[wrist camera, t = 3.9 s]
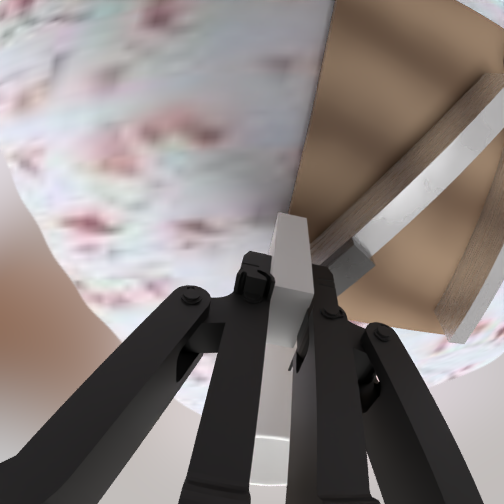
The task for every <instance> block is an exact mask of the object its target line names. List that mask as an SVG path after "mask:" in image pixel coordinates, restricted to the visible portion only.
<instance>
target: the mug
mask: <svg viewBox="0 0 504 504" xmlns="http://www.w3.org/2000/svg"><path fill="white" fill-rule="evenodd" d="M296 349H297V340H296V343H295V345H294V348H289V347H283V346H278V345H273V344H268V343H266V348H265V357H264V366H263V375H262V384H261V393H260V402H259V410H258V418H257V427H256V435H255V443H254V451H253V459H252V467H251V474H250V482H249V484H252V485H262V486H284V485H287V477H288V462H289V445H290V426H291V404H292V377H293V367H292V369H291V371H288V368H289V366H290V363H291V361H292V358H293V356H294V354H295V351H296Z"/></svg>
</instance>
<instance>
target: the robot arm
mask: <svg viewBox="0 0 504 504" xmlns="http://www.w3.org/2000/svg"><path fill="white" fill-rule="evenodd" d="M296 340H297V349H296V351H295V354H294V356H293V358H292V361H291V363H290V366H289V368H288V371H291V369H292V367H293V377H292V404H291V426H290V445H289V462H288V477H287V493H286V504H380V502H379V501H378V500H377V499H375V498H373V497H372V496H371V494H370V490H369V477H368V464H367V454H368V456H369V459H370V462H371V465H372V468H373V470H374V474H375V476H376V479H377V482H378V485H379V488H380V491H381V494H382V497H383V500H384V503H385V504H484V503H483V501H482V499H481V496H480V494H479V492H478V489H477V487H476V485H475V482H474V480H473V478H472V476H471V473H470V471H469V469H468V467H467V465H466V462H465V460H464V458H463V456H462V454H461V452H460V450H459V448H458V446H457V443H456V441H455V439H454V438H453V436H452V433H451V432H450V429H449V428H448V425H447V423H446V421H445V420H444V418H443V416H442V414H441V412H440V410H439V408H438V406H437V404H436V403H435V400H434V399H433V397H432V395H431V393H430V391H429V389H428V388H427V386H426V384H425V382H424V380H423V378H422V377H421V375H420V373H419V371H418V370H417V368H416V366H415V364H414V363H413V361H412V359H411V357H410V356H409V354H408V352H407V350H406V349H405V347H404V345H403V344H402V342H401V340H400V339H399V337H398V335H397V334H396V332H395V331H394V330H393V329H392V328H391V327H389V326H388V325H386V324H383V323H379V322H373V323H370V324H369V325H367V327H366V329H364V328H362V327H359V326H357V325H355V324H353V323H351V322H349V321H348V319H347V315H346V313H345V311H344V310H343V309H342V308H341V307H340V306H338V300H337V294H336V289H335V283H334V278H333V274H332V272H331V271H330V270H329V268H328V267H325V266H321V265H316V264H312V263H311V254H310V244H309V234H308V225H307V218H303V217H299V216H295V215H290V214H286V213H281V212H278V216H277V220H276V224H275V228H274V232H273V236H272V240H271V245H270V249H269V253H268V255H266V254H262V253H257V252H253V251H249V252H248V253H247V254H245V255H244V257H243V261H242V265H241V269H240V270H239V271H238V273H237V276H236V281H235V286H234V291H233V292H232V293H231V294H230V295H228V296H225V297H219V298H211V297H210V294H209V293H208V292H207V291H206V290H204V289H202V288H201V287H197V286H189V285H186V286H182V287H179V288H177V289H176V290H174V291H173V292H172V293H171V294H170V295H169V296H168V297H167V298H166V299H165V300H164V301H163V302H162V303H161V304H160V305H159V306H158V307H157V308H156V309H155V310H154V311H153V312H152V313H151V314H150V315H149V316H148V317H147V318H146V319H145V320H144V321H143V322H142V323H141V324H140V325H139V326H138V327H137V328H136V329H135V330H134V331H133V332H132V333H131V334H130V335H129V336H128V338H127V339H126V340H125V341H124V342H123V343H122V344H121V345H120V346H119V347H118V348H117V349H116V350H115V351H114V352H113V353H112V354H111V355H110V356H109V357H108V358H107V359H106V360H105V361H104V362H103V363H102V364H101V365H100V366H99V367H98V368H97V369H96V370H95V371H94V373H93V374H92V375H91V376H90V377H89V378H88V379H87V380H86V381H85V382H84V383H83V384H82V385H81V386H80V387H79V388H78V389H77V390H76V391H75V392H74V393H73V395H72V396H71V397H70V398H69V399H68V400H67V401H66V402H65V403H64V404H63V405H62V406H61V407H60V408H59V409H58V410H57V412H56V413H55V414H54V415H53V416H52V417H51V418H50V419H49V420H48V421H47V422H46V423H45V424H44V425H43V427H42V428H41V429H40V430H39V431H38V432H37V433H36V434H35V435H34V436H33V437H32V439H31V440H30V441H29V442H28V443H27V444H26V445H25V446H24V447H23V448H22V450H21V451H20V452H19V453H18V454H17V455H16V456H14V457H12V458H10V459H8V460H6V461H4V462H2V463H0V504H97V503H98V502H99V500H100V499H101V498H102V497H103V495H104V494H105V493H106V491H107V490H108V488H109V487H110V486H111V484H112V483H113V482H114V480H115V479H116V478H117V476H118V475H119V473H120V472H121V471H122V469H123V468H124V466H125V465H126V464H127V462H128V461H129V460H130V458H131V457H132V455H133V454H134V453H135V451H136V450H137V448H138V447H139V446H140V444H141V443H142V441H143V440H144V439H145V437H146V436H147V434H148V433H149V431H150V430H151V429H152V427H153V426H154V425H155V423H156V422H157V420H158V419H159V417H160V416H161V415H162V413H163V412H164V410H165V409H166V408H167V406H168V405H169V403H170V402H171V401H172V399H173V398H174V396H175V395H176V393H177V392H178V391H179V389H180V388H181V386H182V385H183V383H184V382H185V381H186V379H187V378H188V376H189V375H190V373H191V372H192V370H193V369H194V368H195V366H196V365H197V363H198V362H199V360H200V359H201V357H202V356H203V353H218V354H217V358H216V361H215V365H214V369H213V373H212V377H211V381H210V385H209V389H208V393H207V397H206V401H205V405H204V409H203V413H202V417H201V421H200V425H199V429H198V432H197V436H196V440H195V444H194V448H193V452H192V456H191V460H190V465H189V468H188V472H187V476H186V479H185V482H184V484H183V487H182V491H181V495H180V499H179V503H178V504H250V503H251V497H250V493H249V482H250V474H251V467H252V459H253V451H254V443H255V435H256V427H257V418H258V410H259V402H260V393H261V384H262V375H263V366H264V357H265V348H266V343H268V344H273V345H278V346H283V347H289V348H294V345H295V343H296ZM376 375H377V377H378V379H379V381H380V382H378V380H377V378H376ZM366 451H367V453H366Z"/></svg>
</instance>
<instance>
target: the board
mask: <svg viewBox="0 0 504 504" xmlns="http://www.w3.org/2000/svg"><path fill="white" fill-rule="evenodd" d="M503 59H504V29H503V28H502V27H500V26H499V25H497V24H496V23H494V22H492V21H491V20H489V19H488V18H486V17H484V16H483V15H481V14H479V13H478V12H476V11H474V10H472V9H471V8H469V7H467V6H465V5H463V4H462V3H460V2H458V1H456V0H335V3H334V8H333V13H332V18H331V23H330V28H329V33H328V38H327V43H326V48H325V52H324V57H323V62H322V67H321V71H320V76H319V81H318V85H317V90H316V94H315V99H314V104H313V108H312V113H311V117H310V121H309V126H308V130H307V135H306V139H305V143H304V148H303V152H302V156H301V161H300V165H299V169H298V174H297V178H296V182H295V186H294V190H293V195H292V199H291V203H290V207H289V211H288V214H290V215H295V216H299V217H303V218H307V225H308V234H309V244H311V243H312V242H313V241H314V240H315V239H317V238H318V237H319V236H320V235H321V234H322V233H323V232H324V231H325V230H326V229H327V228H328V227H330V226H331V225H332V224H333V223H334V222H335V221H336V220H337V219H338V218H339V217H340V216H341V215H342V214H343V213H344V212H346V211H347V210H348V209H349V208H350V207H351V206H352V205H353V204H354V203H355V202H356V201H357V200H358V199H359V198H360V197H361V196H362V195H364V194H365V193H366V192H367V191H368V190H369V189H370V188H371V187H372V186H373V185H374V184H375V183H376V182H377V181H378V180H379V179H380V178H381V177H382V176H383V175H384V174H385V173H386V172H387V171H388V170H390V169H391V168H392V167H393V166H394V165H395V164H396V163H397V162H398V161H399V160H400V159H401V158H402V157H403V156H404V155H405V154H406V153H407V152H408V151H409V150H410V149H411V148H412V147H413V146H414V145H415V144H416V143H417V142H418V141H419V140H420V139H421V138H422V137H423V136H424V135H425V134H426V133H427V132H428V131H429V130H430V129H431V128H432V127H433V126H434V125H435V124H436V123H437V122H438V121H439V120H440V119H441V118H442V117H443V116H444V115H445V114H446V113H447V112H448V111H449V110H450V109H451V108H452V107H453V106H454V105H455V104H456V103H457V102H458V101H459V100H460V99H461V98H462V96H463V95H464V94H465V93H466V92H467V91H468V90H469V89H470V88H471V87H472V86H473V85H474V84H475V83H476V82H477V81H478V80H479V79H480V78H481V77H482V76H483V75H484V73H497V74H504V64H503ZM503 147H504V128H503V129H502V130H501V131H500V132H499V133H498V135H497V136H496V137H495V138H494V139H493V140H492V141H491V142H490V143H489V144H488V145H487V147H486V148H485V149H484V150H483V151H482V152H481V153H480V154H479V155H478V156H477V157H476V158H475V159H474V160H473V161H472V162H471V163H470V164H469V165H468V166H467V167H466V168H465V169H464V170H463V171H462V172H461V173H460V174H459V176H458V177H457V178H456V179H455V180H454V181H452V182H451V183H450V184H449V185H448V186H447V187H446V188H445V189H444V190H443V191H442V192H441V193H440V194H439V195H438V196H437V197H436V198H435V199H434V200H433V201H432V202H431V203H430V204H429V205H428V206H427V207H426V208H425V209H424V210H422V211H421V212H420V213H419V214H418V215H417V216H416V217H415V218H414V219H413V220H412V221H411V222H410V223H408V224H407V225H406V226H405V227H404V228H403V229H402V230H401V231H400V232H399V233H397V234H396V235H395V236H394V237H393V238H392V239H391V240H390V241H389V242H387V243H386V244H385V245H384V246H383V247H382V248H381V249H379V250H378V251H377V252H376V253H375V254H374V255H373V256H372V258H373V260H374V263H375V266H374V267H373V268H372V269H371V270H370V271H368V272H367V273H366V274H365V275H364V276H362V277H361V278H360V279H359V280H358V281H356V282H355V283H354V284H353V285H351V286H350V287H349V288H348V289H346V290H345V291H344V292H343V293H342V294H340V295H339V296H338V297H337V300H338V306H340V307H341V308H342V309H343V310H344V311H345V313H346V315H347V319H348V320H352V321H358V322H364V323H373V322H379V323H383V324H386V325H388V326H389V327H395V328H402V329H408V330H415V331H422V332H429V333H436V334H444V335H445V333H444V331H443V329H442V327H441V325H440V323H439V321H438V319H437V317H436V315H435V313H434V310H435V308H436V306H437V305H438V303H439V301H440V299H441V297H442V296H443V294H444V292H445V290H446V288H447V286H448V284H449V282H450V280H451V278H452V277H453V275H454V273H455V271H456V268H457V266H458V264H459V262H460V260H461V258H462V256H463V254H464V252H465V250H466V247H467V245H468V243H469V241H470V238H471V236H472V234H473V232H474V229H475V227H476V224H477V222H478V220H479V217H480V215H481V212H482V210H483V207H484V204H485V202H486V199H487V196H488V194H489V191H490V188H491V185H492V182H493V179H494V176H495V173H496V170H497V167H498V164H499V161H500V158H501V154H502V151H503Z"/></svg>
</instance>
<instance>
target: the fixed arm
mask: <svg viewBox="0 0 504 504" xmlns="http://www.w3.org/2000/svg"><path fill="white" fill-rule="evenodd" d="M503 64H504V59H503ZM503 280H504V147H503V151H502V154H501V158H500V161H499V164H498V167H497V170H496V173H495V176H494V179H493V182H492V185H491V188H490V191H489V194H488V196H487V199H486V202H485V204H484V207H483V210H482V212H481V215H480V217H479V220H478V222H477V224H476V227H475V229H474V232H473V234H472V236H471V238H470V241H469V243H468V245H467V247H466V250H465V252H464V254H463V256H462V258H461V260H460V262H459V264H458V266H457V268H456V271H455V273H454V275H453V277H452V278H451V280H450V282H449V284H448V286H447V288H446V290H445V292H444V294H443V296H442V297H441V299H440V301H439V303H438V305H437V306H436V308H435V310H434V313H435V315H436V317H437V319H438V321H439V323H440V325H441V327H442V329H443V331H444V333H445V336H446V338H447V340H448V342H451V343H460V344H465V342H466V341H467V339H468V338H469V336H470V335H471V333H472V332H473V330H474V329H475V327H476V326H477V324H478V323H479V321H480V320H481V318H482V316H483V315H484V313H485V311H486V310H487V308H488V306H489V305H490V303H491V301H492V300H493V298H494V296H495V294H496V293H497V291H498V289H499V287H500V285H501V284H502V282H503Z"/></svg>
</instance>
